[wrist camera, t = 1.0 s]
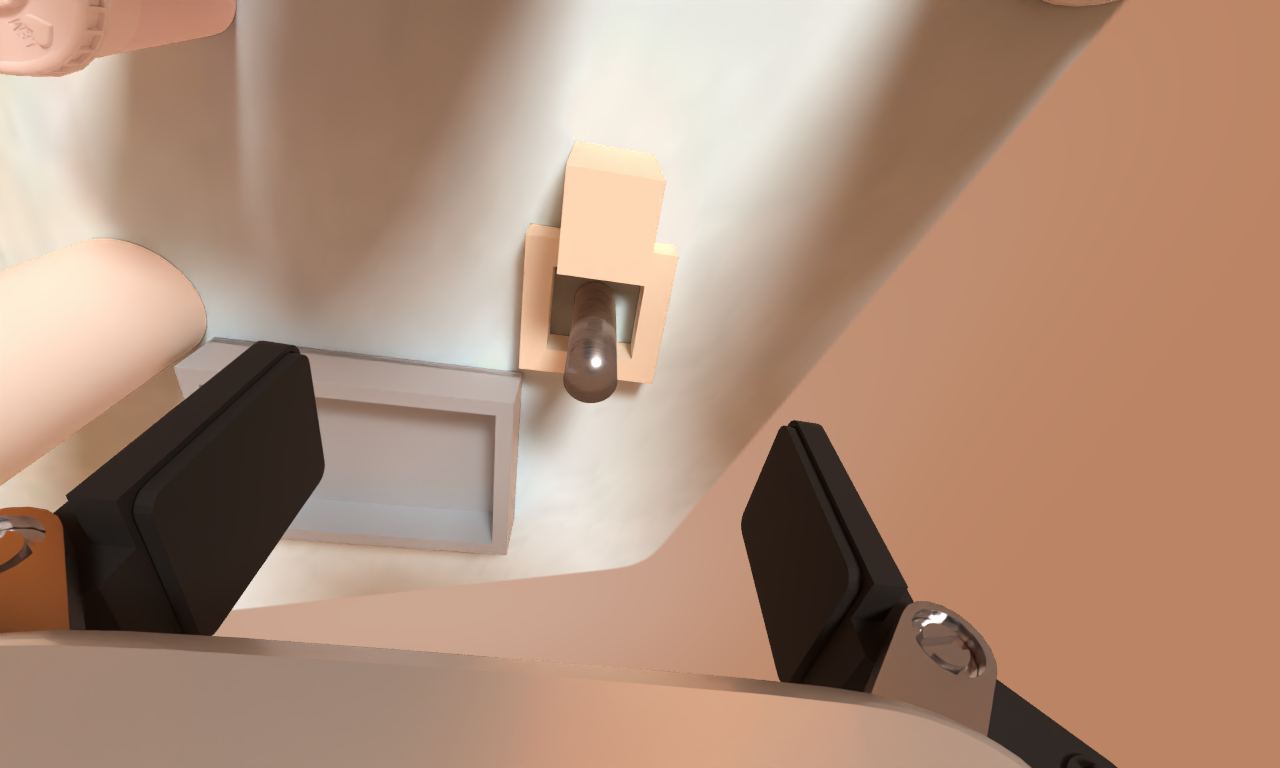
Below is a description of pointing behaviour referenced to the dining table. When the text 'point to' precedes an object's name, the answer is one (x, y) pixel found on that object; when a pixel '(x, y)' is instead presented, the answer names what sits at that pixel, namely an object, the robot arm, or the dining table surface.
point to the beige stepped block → (601, 255)
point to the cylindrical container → (85, 339)
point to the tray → (401, 449)
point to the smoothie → (98, 30)
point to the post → (592, 345)
